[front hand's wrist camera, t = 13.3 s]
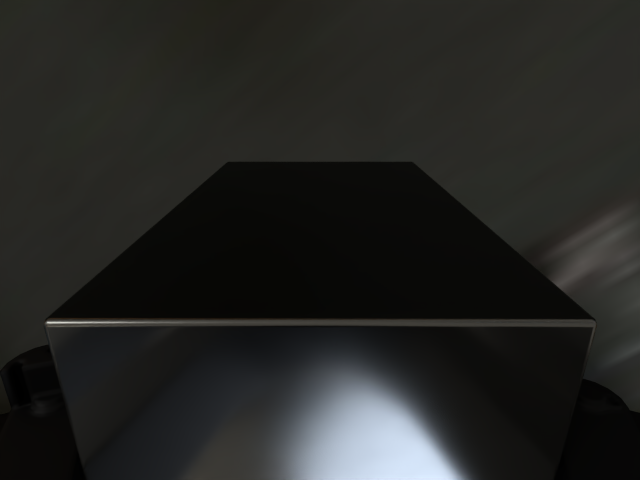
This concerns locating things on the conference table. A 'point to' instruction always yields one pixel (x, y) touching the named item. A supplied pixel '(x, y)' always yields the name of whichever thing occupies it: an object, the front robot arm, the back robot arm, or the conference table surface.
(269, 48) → the conference table surface
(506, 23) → the conference table surface
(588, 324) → the block
